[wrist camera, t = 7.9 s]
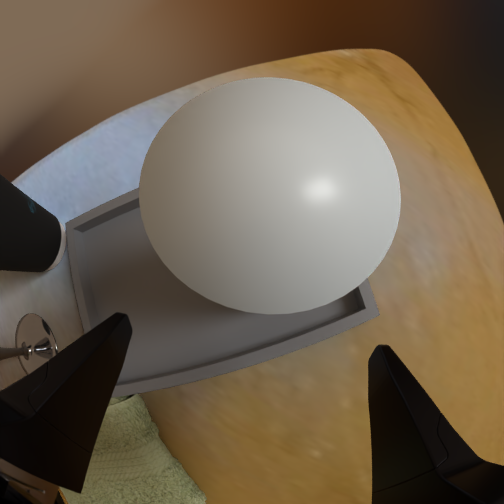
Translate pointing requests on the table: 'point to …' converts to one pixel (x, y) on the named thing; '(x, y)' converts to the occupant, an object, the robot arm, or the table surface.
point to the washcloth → (133, 462)
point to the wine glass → (31, 343)
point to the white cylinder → (269, 196)
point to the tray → (181, 307)
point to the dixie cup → (27, 233)
